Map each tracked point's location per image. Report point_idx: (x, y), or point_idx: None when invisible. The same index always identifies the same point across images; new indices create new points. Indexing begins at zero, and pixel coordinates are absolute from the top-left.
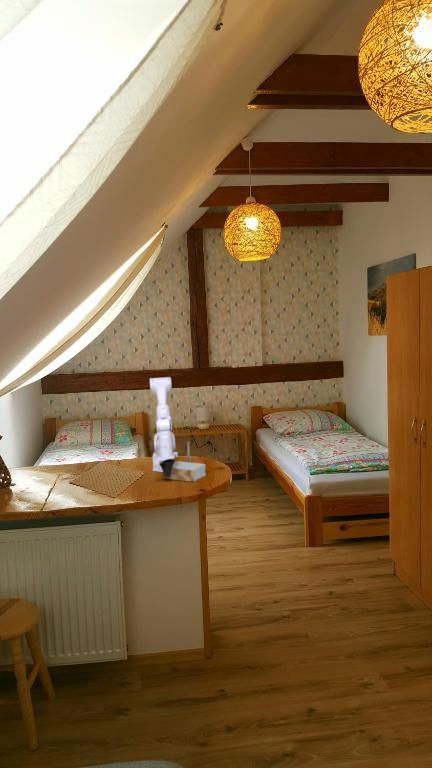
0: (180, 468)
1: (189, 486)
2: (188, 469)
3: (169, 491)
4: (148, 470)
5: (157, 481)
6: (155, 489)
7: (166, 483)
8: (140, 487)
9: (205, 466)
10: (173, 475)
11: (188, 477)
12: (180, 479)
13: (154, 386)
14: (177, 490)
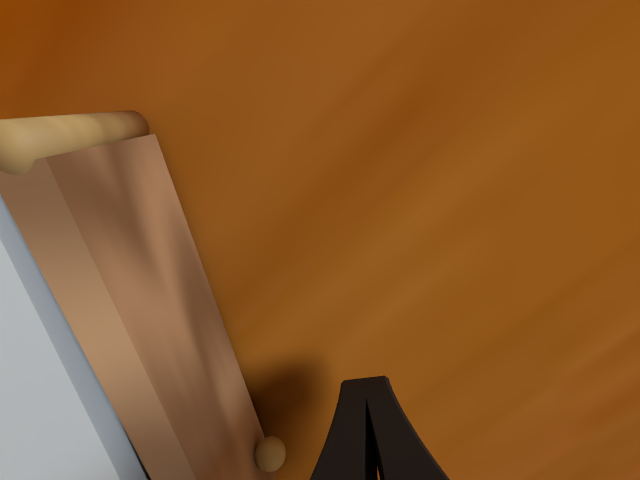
0: (87, 428)
1: (308, 6)
2: (13, 274)
3: (622, 108)
4: None
5: None
6: (601, 317)
7: (367, 356)
8: (589, 470)
9: None
10: (227, 406)
11: (143, 185)
12: (208, 294)
13: None
14: (544, 33)
